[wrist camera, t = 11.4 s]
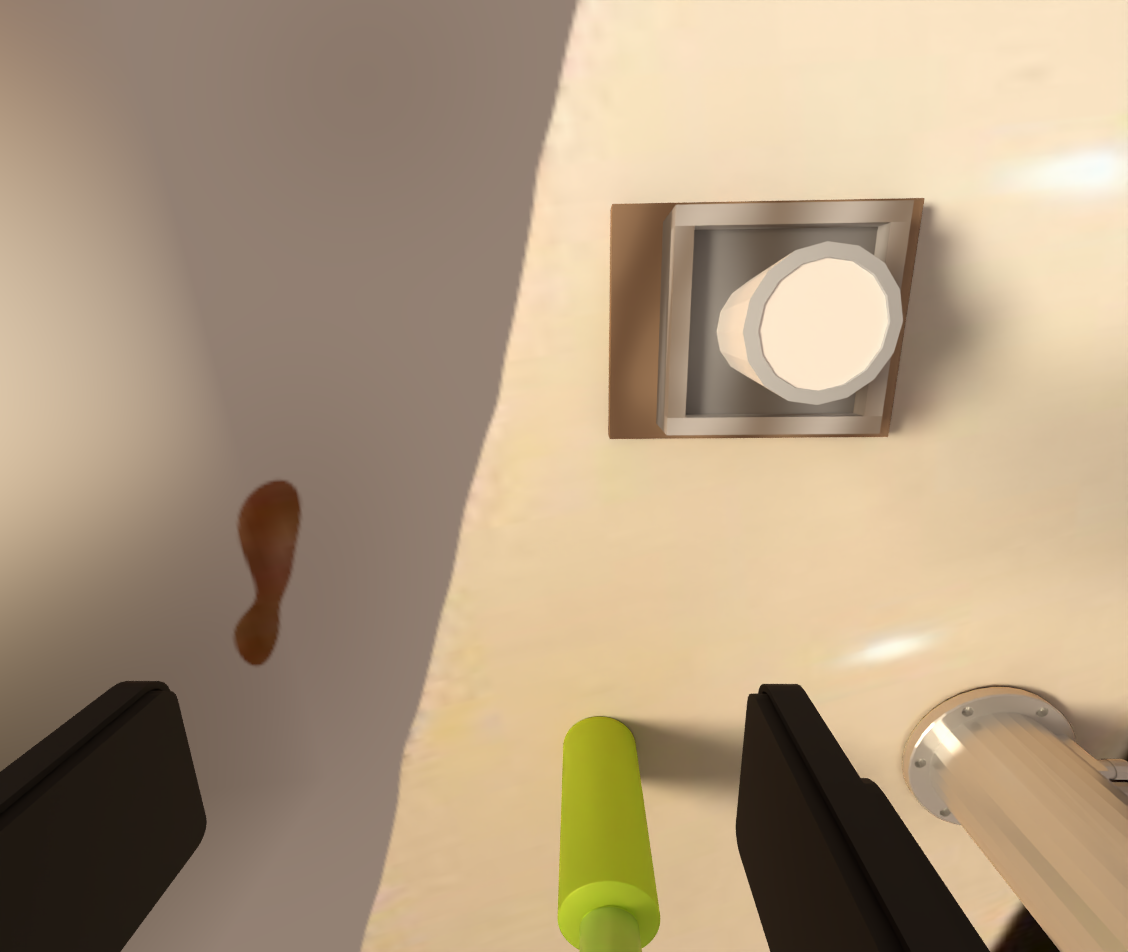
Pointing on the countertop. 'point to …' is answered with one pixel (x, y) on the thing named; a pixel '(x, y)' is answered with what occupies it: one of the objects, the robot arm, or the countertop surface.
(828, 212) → the stand
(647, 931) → the soap dispenser
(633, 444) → the countertop surface
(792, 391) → the white cup
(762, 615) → the countertop surface
